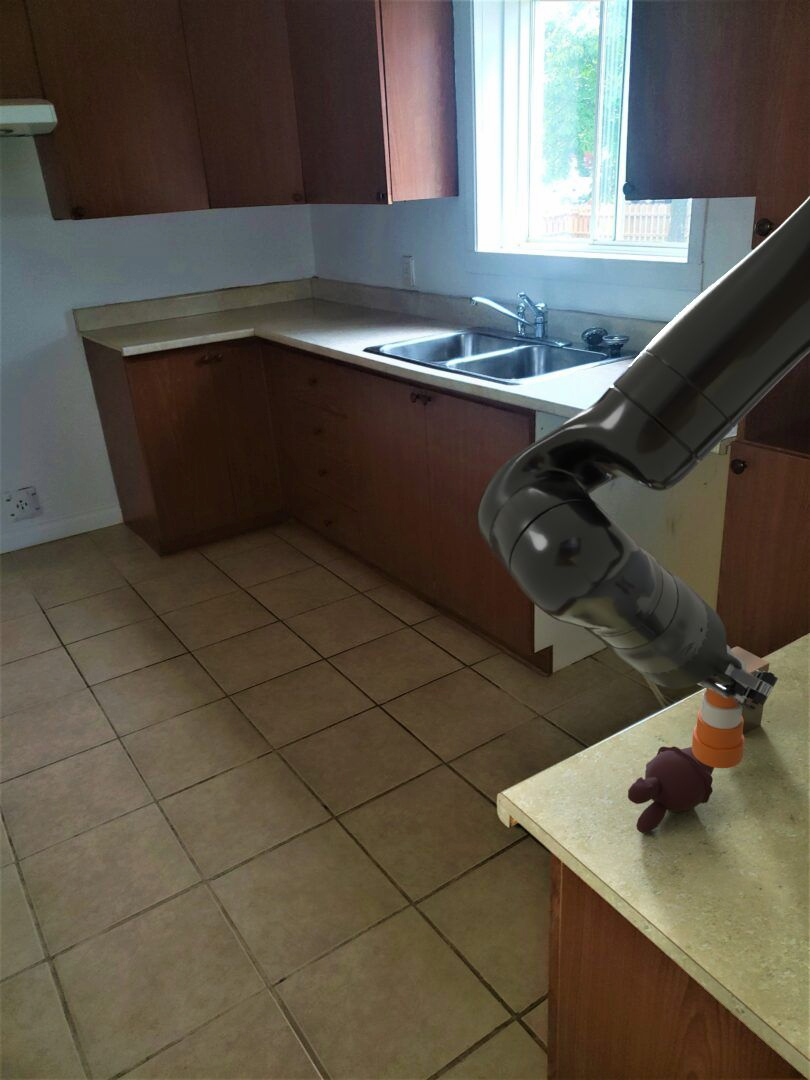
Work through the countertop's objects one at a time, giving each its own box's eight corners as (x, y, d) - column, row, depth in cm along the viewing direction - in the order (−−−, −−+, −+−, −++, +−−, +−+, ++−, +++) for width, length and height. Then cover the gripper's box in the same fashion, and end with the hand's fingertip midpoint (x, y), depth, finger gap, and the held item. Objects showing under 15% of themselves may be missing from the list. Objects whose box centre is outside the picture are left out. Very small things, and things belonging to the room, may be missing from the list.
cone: (752, 755, 75) (764, 664, 70) (720, 775, 73) (731, 682, 68) (713, 731, 78) (722, 642, 74) (681, 749, 76) (689, 659, 72)
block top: (765, 694, 97) (769, 662, 95) (740, 708, 95) (744, 676, 93) (733, 676, 100) (737, 645, 98) (708, 689, 98) (711, 658, 96)
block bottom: (761, 724, 99) (765, 694, 97) (736, 739, 97) (740, 708, 95) (730, 706, 102) (733, 676, 100) (705, 719, 100) (708, 689, 98)
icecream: (689, 705, 93) (599, 774, 86) (747, 723, 87) (655, 798, 80) (701, 757, 95) (614, 828, 88) (758, 778, 89) (669, 856, 82)
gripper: (766, 616, 57) (832, 687, 69) (608, 553, 68) (689, 625, 79) (714, 709, 57) (790, 765, 68) (564, 632, 67) (651, 692, 79)
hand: (735, 690), depth 74 cm, fingers closed on cone, 3 cm apart
